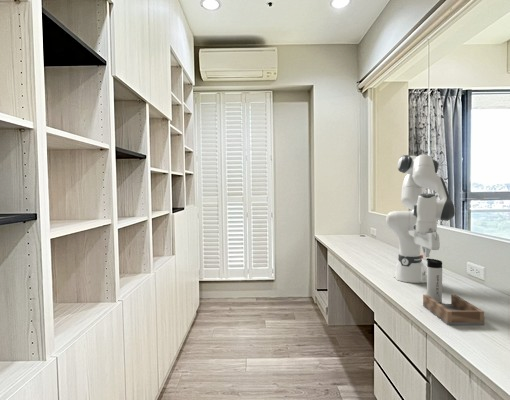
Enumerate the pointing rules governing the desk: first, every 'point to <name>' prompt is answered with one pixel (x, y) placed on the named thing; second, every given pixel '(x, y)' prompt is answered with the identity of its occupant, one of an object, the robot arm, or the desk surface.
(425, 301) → the u rest
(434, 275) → the travel mug
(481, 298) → the desk surface
